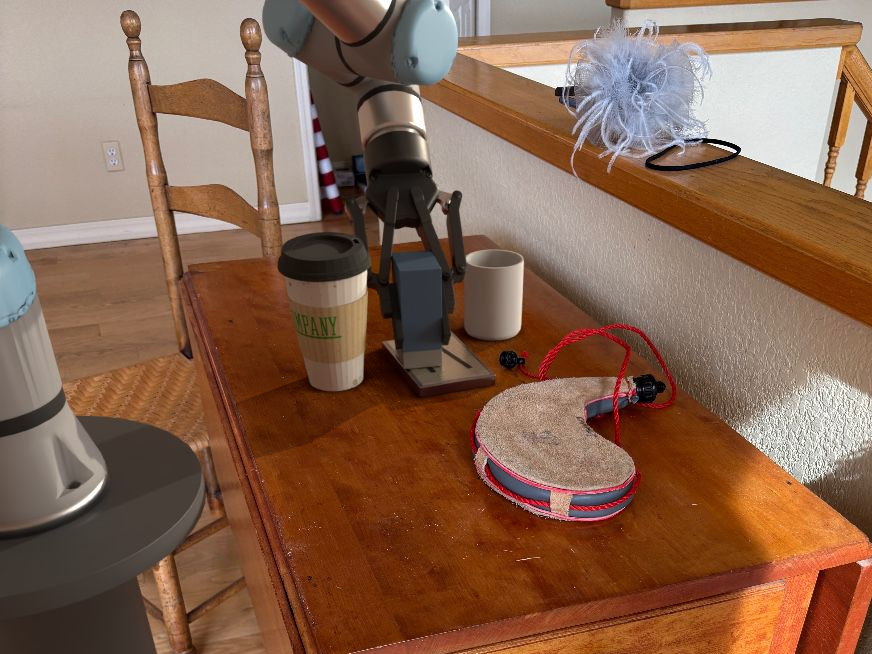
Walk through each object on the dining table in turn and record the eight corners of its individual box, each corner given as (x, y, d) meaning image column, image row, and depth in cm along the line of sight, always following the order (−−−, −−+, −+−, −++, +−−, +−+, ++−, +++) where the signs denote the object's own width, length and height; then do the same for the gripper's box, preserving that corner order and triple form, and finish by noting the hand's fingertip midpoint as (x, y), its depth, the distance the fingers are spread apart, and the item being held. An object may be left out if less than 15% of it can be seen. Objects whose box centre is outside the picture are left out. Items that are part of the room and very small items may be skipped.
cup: (476, 344, 114) (477, 271, 108) (448, 317, 121) (447, 247, 116) (530, 336, 116) (533, 263, 110) (498, 309, 123) (500, 240, 118)
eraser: (403, 369, 105) (399, 271, 98) (395, 347, 110) (391, 252, 103) (442, 366, 106) (441, 268, 99) (432, 344, 111) (430, 249, 104)
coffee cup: (284, 367, 108) (265, 237, 99) (365, 353, 111) (354, 224, 101) (304, 405, 101) (286, 268, 91) (390, 389, 104) (382, 254, 94)
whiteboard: (420, 397, 102) (419, 386, 101) (382, 350, 113) (381, 340, 112) (495, 384, 105) (495, 373, 104) (451, 340, 115) (451, 329, 114)
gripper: (466, 163, 111) (494, 349, 108) (318, 171, 108) (343, 362, 105) (475, 123, 103) (506, 321, 100) (317, 130, 101) (344, 334, 98)
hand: (423, 341), depth 103 cm, fingers closed on eraser, 4 cm apart
